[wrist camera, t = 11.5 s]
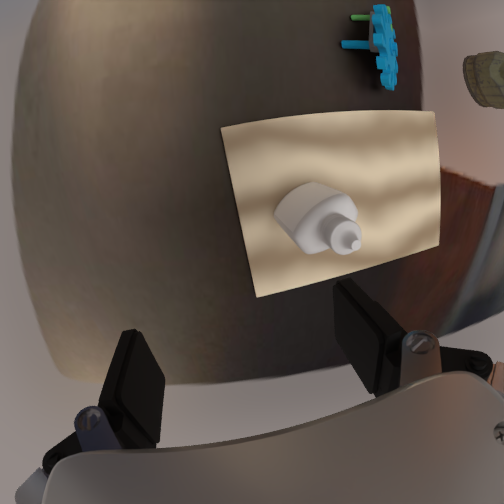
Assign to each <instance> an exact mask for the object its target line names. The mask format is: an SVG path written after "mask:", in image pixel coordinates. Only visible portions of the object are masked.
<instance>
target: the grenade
mask: <svg viewBox="0 0 504 504" xmlns="http://www.w3.org/2000/svg"><path fill="white" fill-rule="evenodd" d="M463 74H464V79H465V82H466V85H467V88H468V90H469V92H470V94H471V96H472V97H473V99H474V100H475V102H476V103H478V104H479V105H480V106H483V107H494V108H497V109H504V53H502V52H499V51H493V52H485V53H478V54H477V55H475V56H467V57H466V58H465V59H464V62H463Z"/></svg>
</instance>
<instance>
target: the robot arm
mask: <svg viewBox="0 0 504 504" xmlns="http://www.w3.org/2000/svg"><path fill="white" fill-rule="evenodd" d="M333 300H334V323H335V337H336V340H337V342H338V344H339V345H340V347H341V349H342V350H343V352H344V353H345V355H346V357H347V358H348V360H349V362H350V363H351V365H352V366H353V368H354V370H355V371H356V373H357V375H358V376H359V378H360V379H361V381H362V382H363V384H364V386H365V388H366V389H367V391H368V392H369V393H370V394H372V393H373V394H374V395H375V397H376V398H375V399H372V400H370V401H367V402H364V403H362V404H359V405H357V406H354V407H352V408H349V409H346V410H344V411H341V412H338V413H335V414H332V415H329V416H326V417H323V418H320V419H317V420H314V421H310V422H307V423H303V424H300V425H296V426H293V427H289V428H285V429H281V430H277V431H273V432H269V433H265V434H260V435H255V436H251V437H246V438H240V439H235V440H229V441H223V442H216V443H209V444H201V445H193V446H184V447H171V448H156V443H159V442H160V432H161V420H162V408H163V398H164V389H165V377H164V374H163V372H162V371H161V369H160V367H159V365H158V363H157V361H156V360H155V358H154V356H153V354H152V352H151V350H150V348H149V346H148V344H147V342H146V341H145V339H144V337H143V335H142V333H141V332H140V331H139V332H138V331H137V330H136V329H131V330H126V331H123V332H122V334H121V337H120V339H119V342H118V345H117V347H116V350H115V353H114V356H113V358H112V361H111V364H110V367H109V370H108V373H107V376H106V379H105V382H104V385H103V388H102V391H101V395H100V398H99V403H98V406H88V407H86V408H84V409H82V410H81V411H80V412H79V413H78V414H77V416H76V418H75V420H74V427H75V430H76V431H75V432H74V433H72V434H71V435H70V436H68V437H67V438H66V439H64V440H63V441H61V442H60V443H58V444H57V445H56V446H54V447H53V448H52V449H50V450H49V451H48V452H47V453H46V454H45V456H44V458H43V463H42V466H43V469H41V468H40V467H39V468H38V469H37V470H36V471H35V472H34V473H33V474H32V475H31V476H30V477H29V478H28V479H27V480H26V481H25V482H24V483H23V484H22V485H21V486H20V487H19V488H18V489H17V491H16V493H15V501H16V504H504V363H502V362H498V361H497V362H496V364H493V362H492V360H491V358H490V357H489V356H488V355H487V354H485V353H483V352H480V351H474V350H465V349H457V348H449V347H442V346H439V341H438V339H437V337H436V336H435V335H433V334H432V333H430V332H428V331H423V330H417V331H413V332H410V333H407V332H406V331H405V330H404V329H403V328H402V327H401V326H400V325H399V324H398V323H397V322H396V321H395V320H394V319H393V318H392V317H391V316H390V315H389V313H388V312H387V311H386V310H385V309H384V308H383V307H382V306H381V305H380V304H379V303H378V302H376V301H373V300H372V299H371V298H370V297H369V296H368V295H367V294H366V293H365V292H364V291H363V290H362V289H361V288H360V287H359V286H358V285H357V284H356V283H355V282H354V281H353V280H352V279H351V278H345V279H342V280H338V281H337V282H336V285H334V286H333Z"/></svg>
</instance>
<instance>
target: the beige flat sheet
mask: <svg viewBox="0 0 504 504" xmlns="http://www.w3.org/2000/svg"><path fill="white" fill-rule="evenodd" d="M221 133H222V138H223V143H224V148H225V152H226V157H227V162H228V167H229V172H230V176H231V181H232V186H233V190H234V195H235V200H236V205H237V209H238V214H239V219H240V223H241V228H242V233H243V237H244V242H245V247H246V251H247V256H248V261H249V265H250V270H251V275H252V279H253V284H254V289H255V293H256V297H261V296H265V295H269V294H273V293H277V292H281V291H285V290H289V289H293V288H297V287H301V286H304V285H308V284H312V283H316V282H319V281H323V280H327V279H330V278H334V277H337V276H341V275H344V274H348V273H351V272H355V271H358V270H362V269H365V268H368V267H372V266H375V265H378V264H382V263H385V262H388V261H391V260H395V259H398V258H401V257H404V256H407V255H410V254H414V253H417V252H420V251H423V250H426V249H429V248H432V247H435V246H438V245H439V233H440V200H441V197H440V164H439V150H438V139H437V130H436V122H435V115H434V112H428V111H404V110H370V111H345V112H330V113H317V114H307V115H298V116H290V117H282V118H275V119H268V120H261V121H255V122H249V123H244V124H238V125H233V126H228V127H223V128H221ZM309 182H317V183H320V184H323V185H326V186H328V187H331V188H333V189H336V190H339V191H341V192H343V193H345V194H347V195H348V196H349V197H350V198H351V199H352V201H353V202H354V204H355V206H356V208H357V210H358V216H357V219H356V221H355V222H356V223H357V224H358V225H359V227H360V229H361V234H362V237H361V247H360V249H359V250H357V251H353V252H352V253H350V254H346V255H340V254H337V253H335V252H334V251H333V250H332V249H331V248H329V249H327V250H325V251H322V252H319V253H315V254H306V253H304V252H303V251H302V250H301V249H300V248H299V247H298V246H297V245H296V244H295V243H294V241H293V240H292V239H291V238H290V237H289V236H288V235H287V233H286V232H285V231H284V230H283V229H282V228H281V226H280V225H279V224H278V223H277V221H276V220H275V219H274V211H275V209H276V207H277V206H278V204H279V203H280V201H281V200H282V199H283V198H284V197H285V196H286V195H287V194H288V193H289V192H290V191H292V190H293V189H295V188H297V187H299V186H301V185H303V184H306V183H309Z"/></svg>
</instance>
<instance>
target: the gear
mask: <svg viewBox="0 0 504 504" xmlns="http://www.w3.org/2000/svg"><path fill="white" fill-rule="evenodd" d="M373 8H374V12H370V15H351V19H352V20H364V21H370V26H369V41H359V40H342V47H343V49H370V51H371V52H378V53H380V56H376V62H377V69H383V73H381V76H380V78H381V83H382V85H383V86H385V88H386V89H387V90H394V85H396V84H397V78H396V73H398V64H397V61H396V56H397V43H394V40H393V39H395V31H394V29H392V20H391V16H390V14H391V13H390V8H389V6H386V5H384V4H377V5H373Z"/></svg>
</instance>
